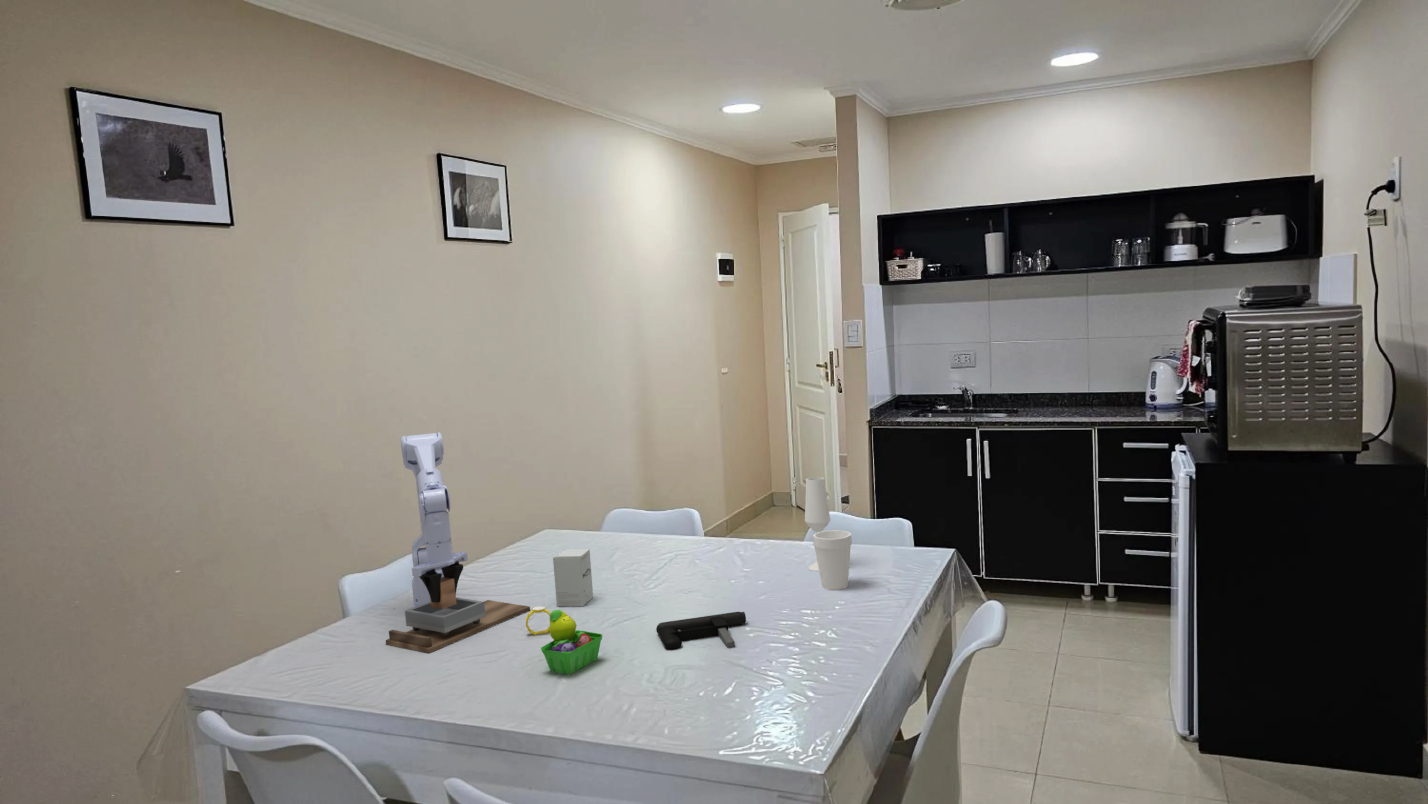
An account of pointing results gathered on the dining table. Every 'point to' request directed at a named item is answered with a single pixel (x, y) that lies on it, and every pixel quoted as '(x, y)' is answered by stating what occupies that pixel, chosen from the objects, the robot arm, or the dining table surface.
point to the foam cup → (833, 558)
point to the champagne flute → (816, 508)
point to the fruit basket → (569, 645)
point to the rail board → (435, 640)
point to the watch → (537, 610)
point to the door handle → (699, 629)
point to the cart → (445, 616)
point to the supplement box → (573, 577)
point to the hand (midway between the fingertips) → (443, 598)
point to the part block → (446, 594)
